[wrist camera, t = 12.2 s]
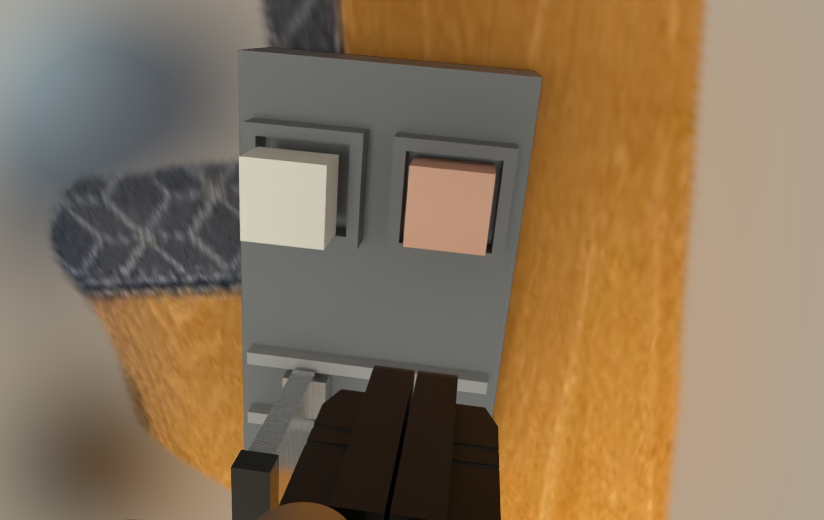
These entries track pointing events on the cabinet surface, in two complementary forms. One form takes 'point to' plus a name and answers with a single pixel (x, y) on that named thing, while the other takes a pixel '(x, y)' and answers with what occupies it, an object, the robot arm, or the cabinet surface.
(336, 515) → the robot arm
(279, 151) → the cream button
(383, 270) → the control panel
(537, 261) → the cabinet surface
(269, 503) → the slide paddle
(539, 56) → the cabinet surface
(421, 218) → the terracotta button
